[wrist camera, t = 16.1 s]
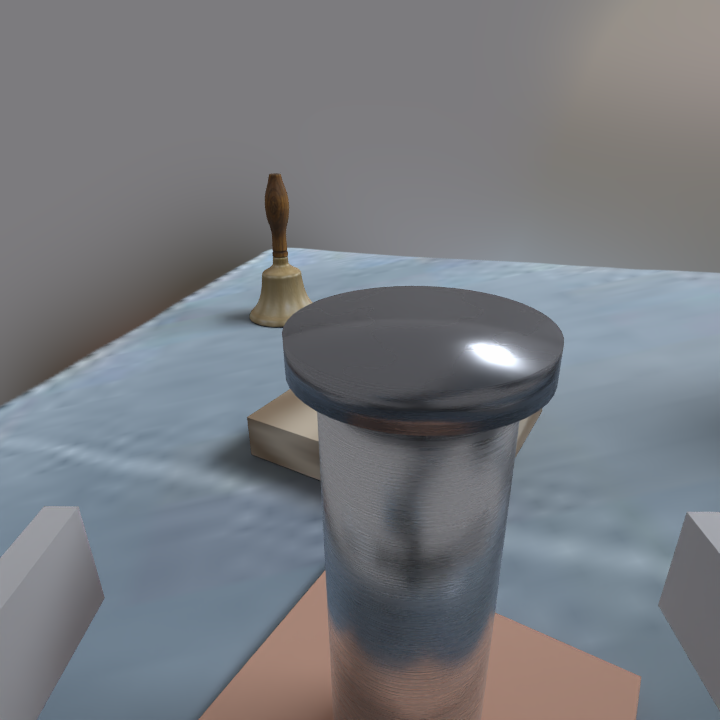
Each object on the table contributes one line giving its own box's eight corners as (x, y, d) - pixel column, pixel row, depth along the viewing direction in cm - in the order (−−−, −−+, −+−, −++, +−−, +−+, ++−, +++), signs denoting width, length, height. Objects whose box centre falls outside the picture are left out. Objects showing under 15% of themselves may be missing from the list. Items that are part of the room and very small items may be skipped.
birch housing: (541, 411, 42) (546, 377, 41) (469, 537, 30) (473, 493, 29) (367, 368, 50) (366, 338, 49) (251, 454, 38) (247, 417, 36)
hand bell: (241, 310, 66) (226, 172, 59) (305, 300, 69) (297, 169, 62) (261, 332, 59) (246, 180, 52) (330, 320, 62) (325, 175, 55)
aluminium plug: (518, 711, 20) (589, 308, 14) (454, 907, 15) (515, 423, 9) (371, 635, 23) (370, 275, 17) (278, 777, 18) (221, 345, 12)
